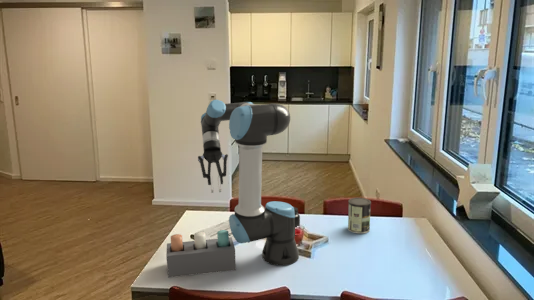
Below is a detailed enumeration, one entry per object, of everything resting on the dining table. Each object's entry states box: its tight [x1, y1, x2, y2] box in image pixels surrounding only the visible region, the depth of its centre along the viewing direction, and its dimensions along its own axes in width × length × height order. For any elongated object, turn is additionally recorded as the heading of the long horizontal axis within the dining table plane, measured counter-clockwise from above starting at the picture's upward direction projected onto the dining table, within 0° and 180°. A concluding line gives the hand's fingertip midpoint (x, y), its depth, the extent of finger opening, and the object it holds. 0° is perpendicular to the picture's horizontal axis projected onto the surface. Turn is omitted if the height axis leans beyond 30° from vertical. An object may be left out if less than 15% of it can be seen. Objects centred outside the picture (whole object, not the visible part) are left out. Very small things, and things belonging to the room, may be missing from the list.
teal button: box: [216, 229, 230, 248], centre depth 178 cm, size 4×4×6 cm
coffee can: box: [347, 197, 372, 234], centre depth 211 cm, size 10×10×14 cm
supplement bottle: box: [293, 206, 301, 227], centre depth 208 cm, size 7×7×12 cm
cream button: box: [193, 231, 207, 250], centre depth 176 cm, size 4×4×6 cm
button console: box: [165, 236, 237, 278], centre depth 178 cm, size 26×11×9 cm, turn 101°
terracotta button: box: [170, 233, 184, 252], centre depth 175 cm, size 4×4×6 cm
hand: (216, 190), depth 189 cm, fingers open, 3 cm apart
